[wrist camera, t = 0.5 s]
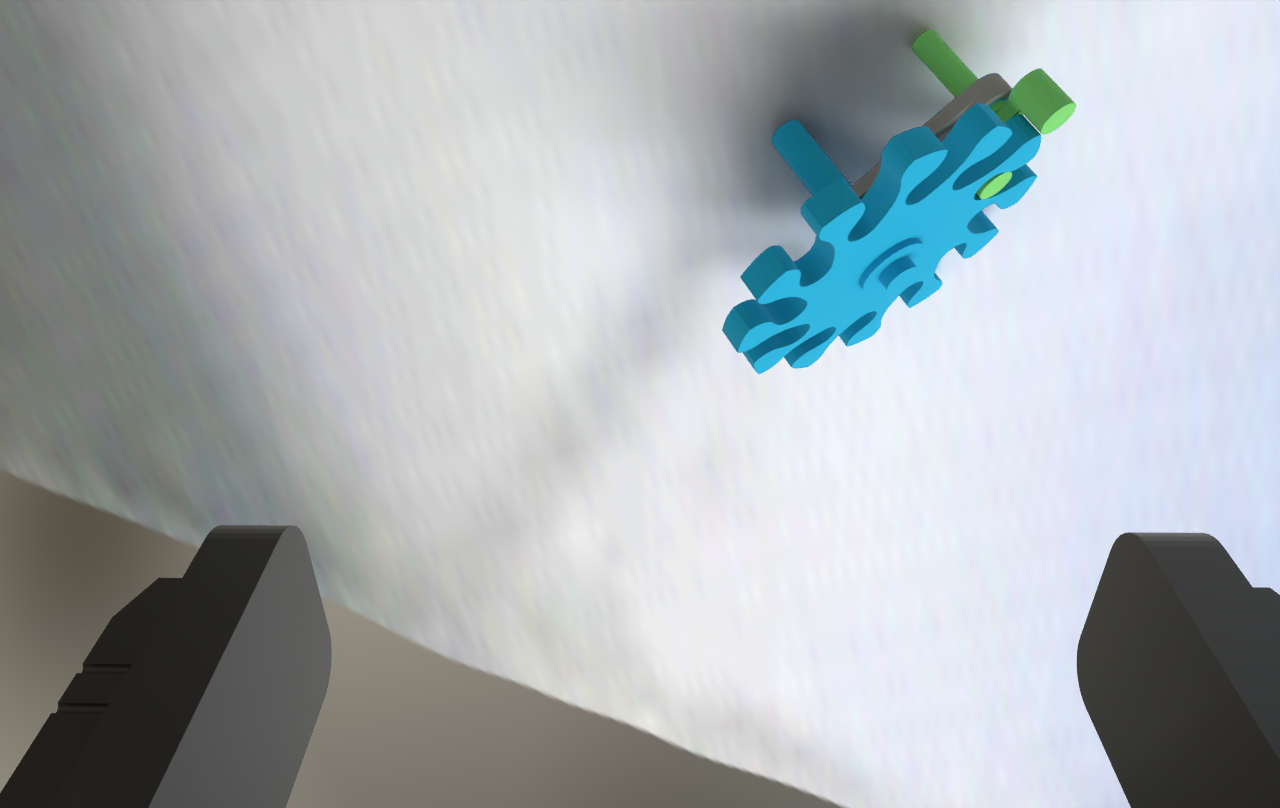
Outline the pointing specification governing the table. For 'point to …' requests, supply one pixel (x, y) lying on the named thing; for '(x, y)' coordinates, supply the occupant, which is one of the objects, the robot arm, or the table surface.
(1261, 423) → the table surface
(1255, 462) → the table surface
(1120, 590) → the robot arm
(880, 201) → the gear
